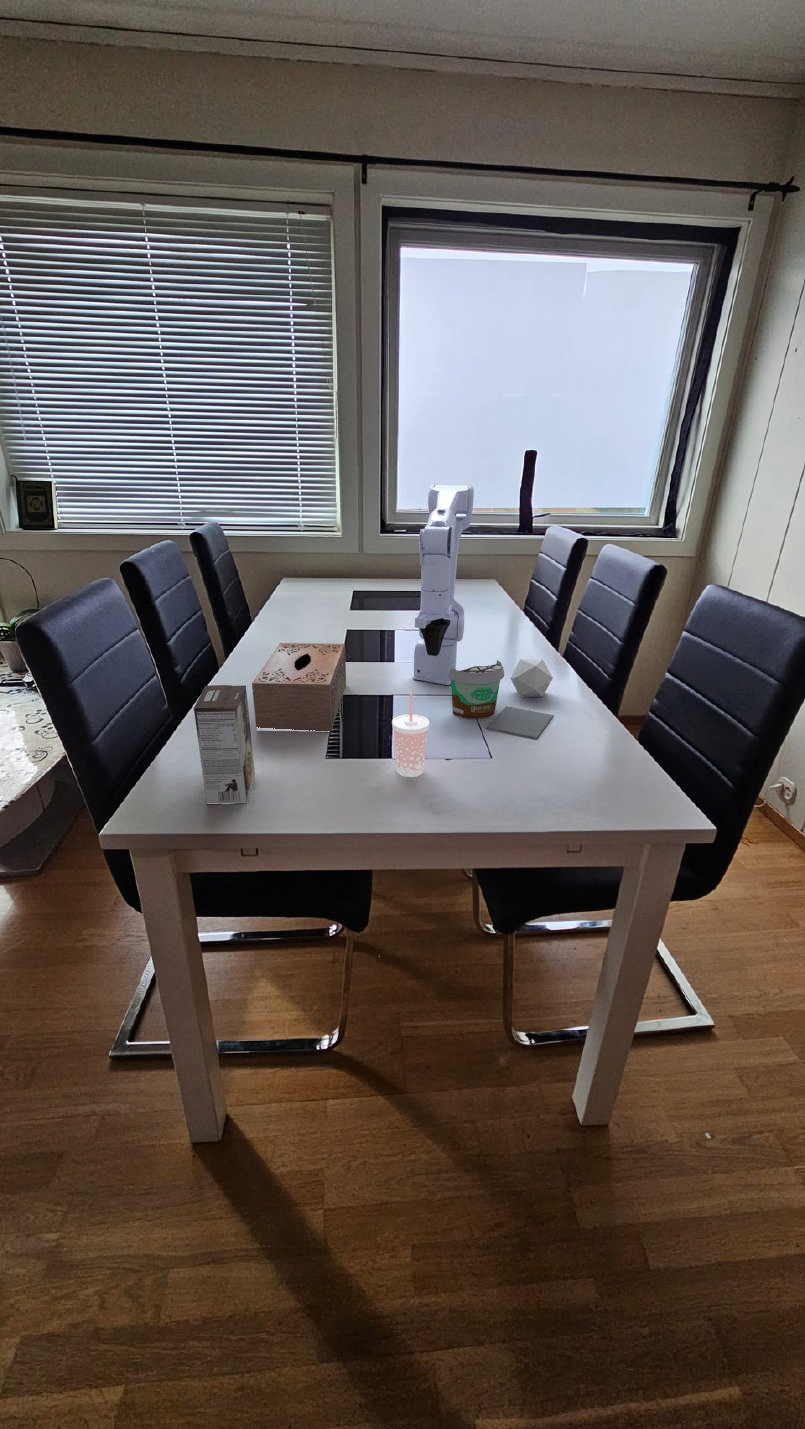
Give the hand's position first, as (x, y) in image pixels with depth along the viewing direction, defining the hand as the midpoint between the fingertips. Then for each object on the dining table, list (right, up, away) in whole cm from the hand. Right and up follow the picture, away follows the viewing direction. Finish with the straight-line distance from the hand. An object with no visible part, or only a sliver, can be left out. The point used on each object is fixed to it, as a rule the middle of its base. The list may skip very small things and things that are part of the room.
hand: (433, 654), depth 128 cm
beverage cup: (-5, -22, -24) cm, 33 cm away
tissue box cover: (-27, -11, +2) cm, 29 cm away
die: (+22, -8, +9) cm, 25 cm away
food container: (+9, -13, -2) cm, 16 cm away
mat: (+17, -14, -6) cm, 23 cm away
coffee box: (-33, -25, -31) cm, 51 cm away
